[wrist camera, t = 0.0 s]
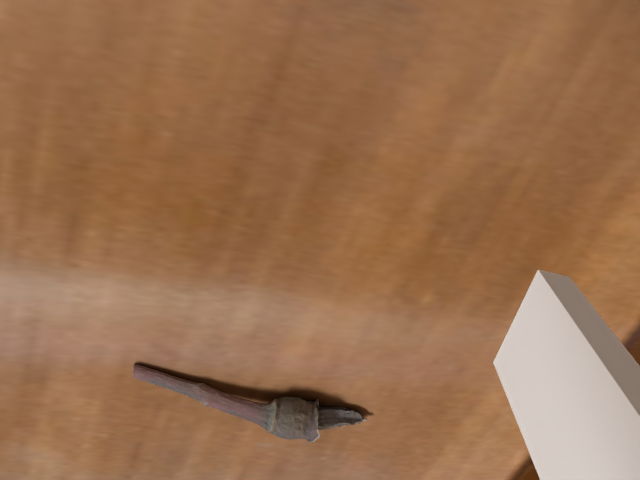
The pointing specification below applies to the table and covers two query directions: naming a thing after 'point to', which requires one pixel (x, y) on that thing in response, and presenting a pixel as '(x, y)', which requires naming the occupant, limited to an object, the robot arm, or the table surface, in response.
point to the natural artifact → (260, 407)
